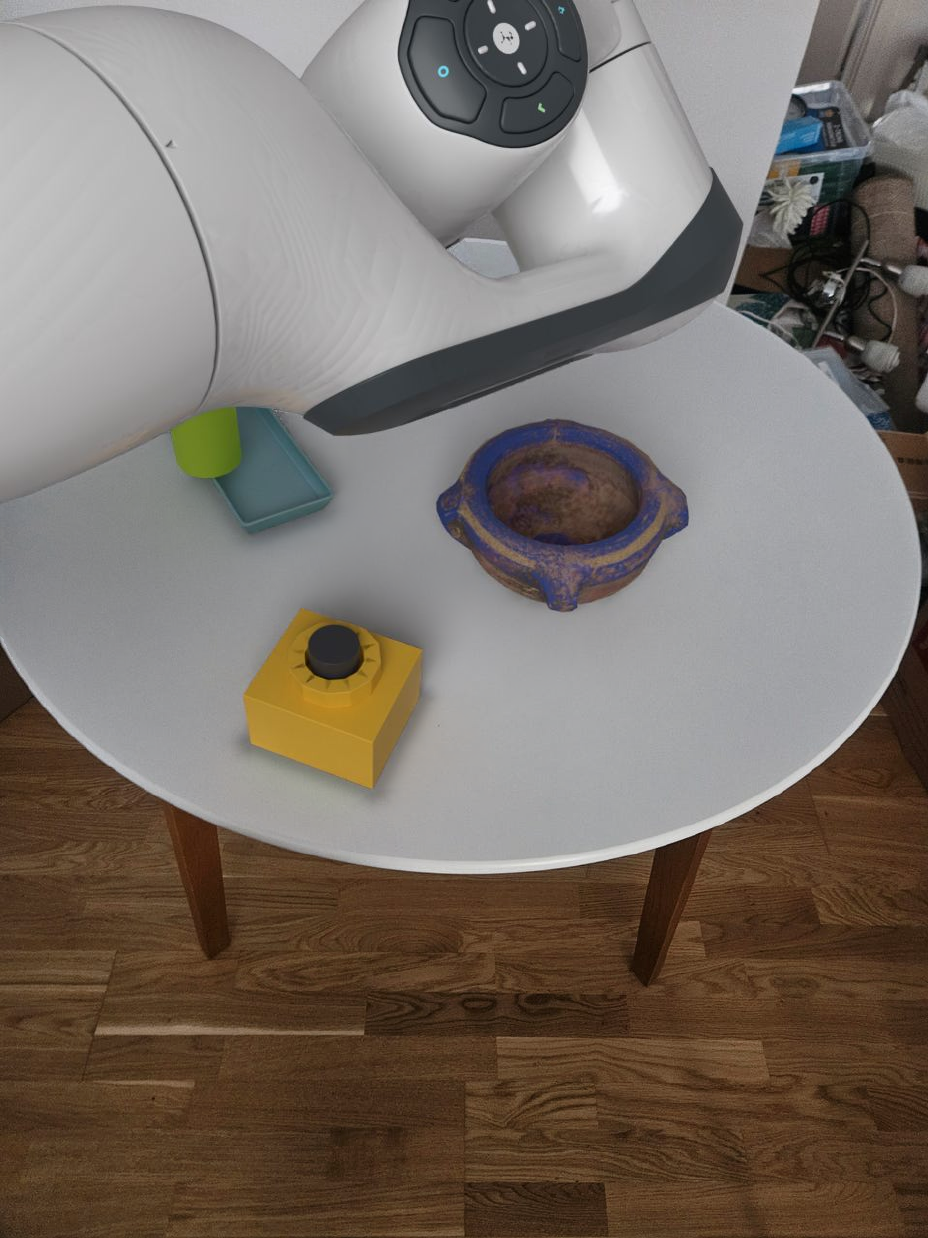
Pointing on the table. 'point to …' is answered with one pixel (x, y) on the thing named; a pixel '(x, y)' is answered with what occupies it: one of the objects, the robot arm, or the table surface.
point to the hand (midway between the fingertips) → (226, 308)
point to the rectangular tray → (270, 475)
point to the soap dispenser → (208, 444)
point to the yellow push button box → (334, 702)
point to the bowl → (562, 511)
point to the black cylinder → (334, 651)
